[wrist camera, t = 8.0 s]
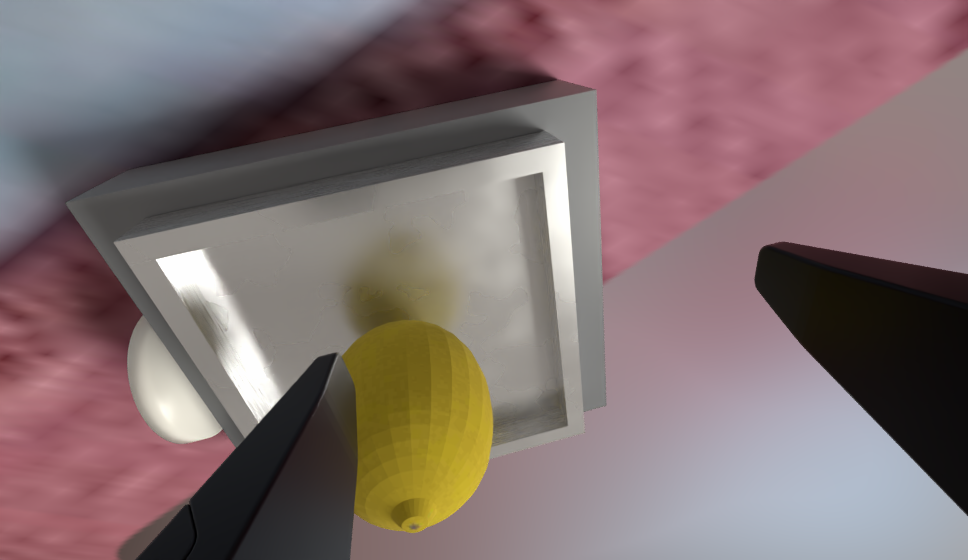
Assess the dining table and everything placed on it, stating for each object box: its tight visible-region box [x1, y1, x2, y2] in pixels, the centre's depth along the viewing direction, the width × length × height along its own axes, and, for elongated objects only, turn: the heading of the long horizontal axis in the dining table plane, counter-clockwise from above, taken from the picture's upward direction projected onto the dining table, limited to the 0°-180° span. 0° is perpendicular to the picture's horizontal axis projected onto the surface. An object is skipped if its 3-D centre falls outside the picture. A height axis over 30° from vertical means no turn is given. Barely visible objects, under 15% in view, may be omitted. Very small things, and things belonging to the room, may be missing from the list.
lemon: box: [342, 320, 493, 533], centre depth 15 cm, size 6×6×8 cm
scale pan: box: [113, 131, 585, 459], centre depth 18 cm, size 14×14×2 cm
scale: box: [65, 80, 606, 448], centre depth 20 cm, size 19×16×6 cm
